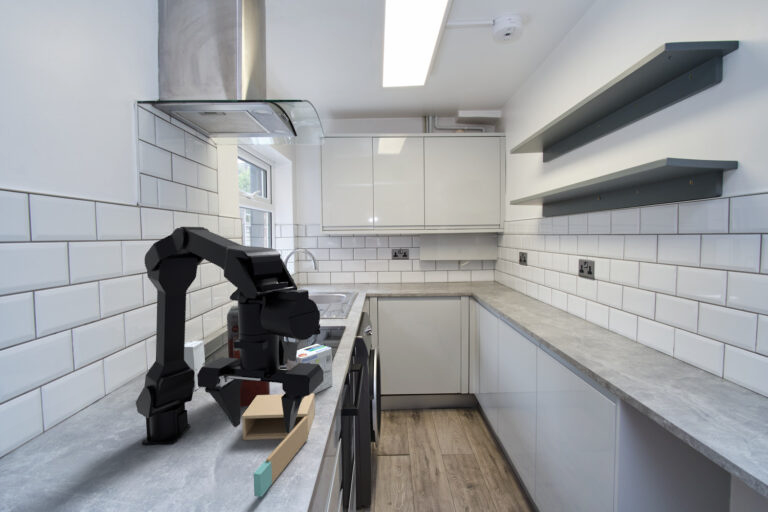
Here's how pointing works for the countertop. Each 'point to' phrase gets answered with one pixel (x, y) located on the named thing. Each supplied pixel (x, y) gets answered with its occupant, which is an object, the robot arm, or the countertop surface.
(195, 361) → the skincare box
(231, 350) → the toy vending machine
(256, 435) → the kraft carton
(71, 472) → the countertop surface
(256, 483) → the carton flap
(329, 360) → the light bulb box
